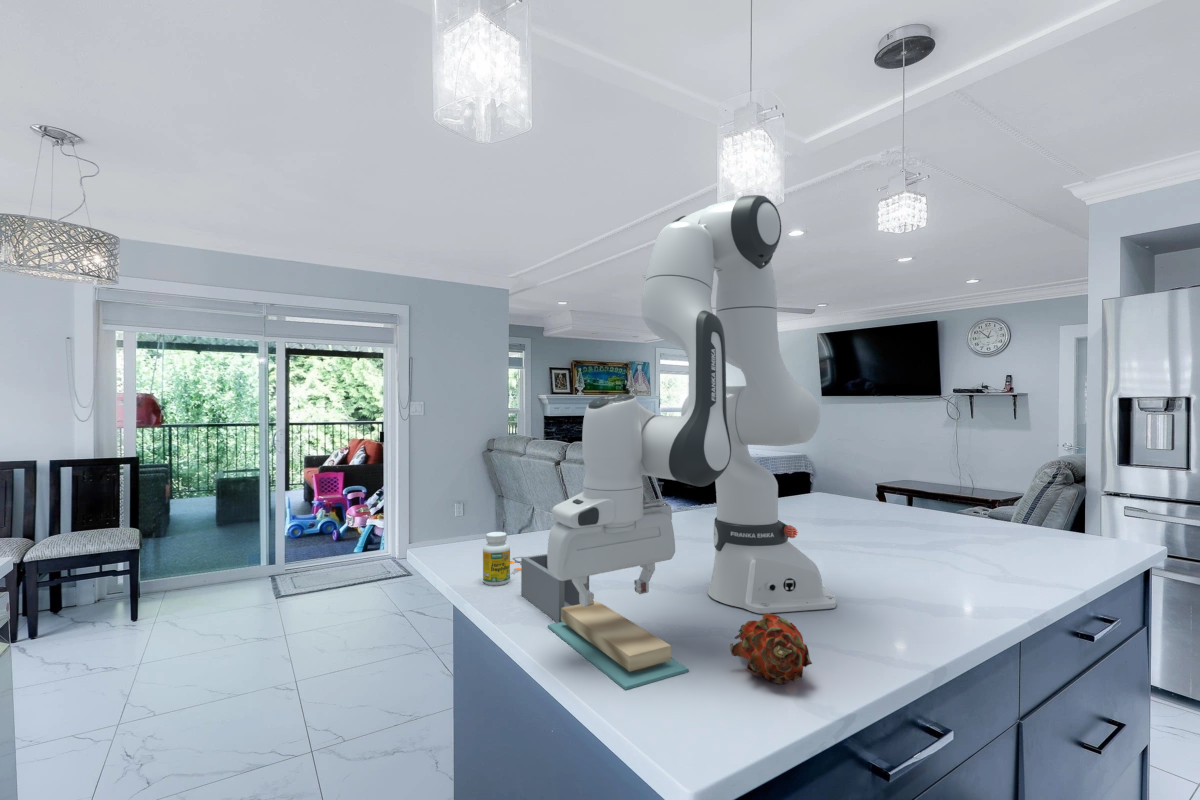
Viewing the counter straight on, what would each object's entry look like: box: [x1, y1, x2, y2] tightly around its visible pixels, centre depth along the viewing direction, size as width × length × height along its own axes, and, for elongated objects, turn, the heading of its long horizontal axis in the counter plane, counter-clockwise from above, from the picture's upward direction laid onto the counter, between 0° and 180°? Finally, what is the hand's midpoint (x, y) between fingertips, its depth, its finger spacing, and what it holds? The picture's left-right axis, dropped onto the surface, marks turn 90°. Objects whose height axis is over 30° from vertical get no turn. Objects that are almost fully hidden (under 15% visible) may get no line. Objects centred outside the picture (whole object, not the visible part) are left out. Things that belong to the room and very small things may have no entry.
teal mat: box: [547, 622, 690, 691], centre depth 84 cm, size 23×10×1 cm, turn 30°
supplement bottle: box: [482, 531, 511, 586], centre depth 115 cm, size 5×5×10 cm
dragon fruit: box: [729, 613, 813, 685], centre depth 76 cm, size 8×8×12 cm
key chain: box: [510, 556, 522, 575], centre depth 127 cm, size 13×7×1 cm, turn 19°
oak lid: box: [561, 600, 672, 672], centre depth 84 cm, size 20×7×3 cm, turn 30°
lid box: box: [520, 553, 590, 623], centre depth 101 cm, size 16×6×7 cm, turn 30°
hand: (614, 598), depth 85 cm, fingers open, 8 cm apart
